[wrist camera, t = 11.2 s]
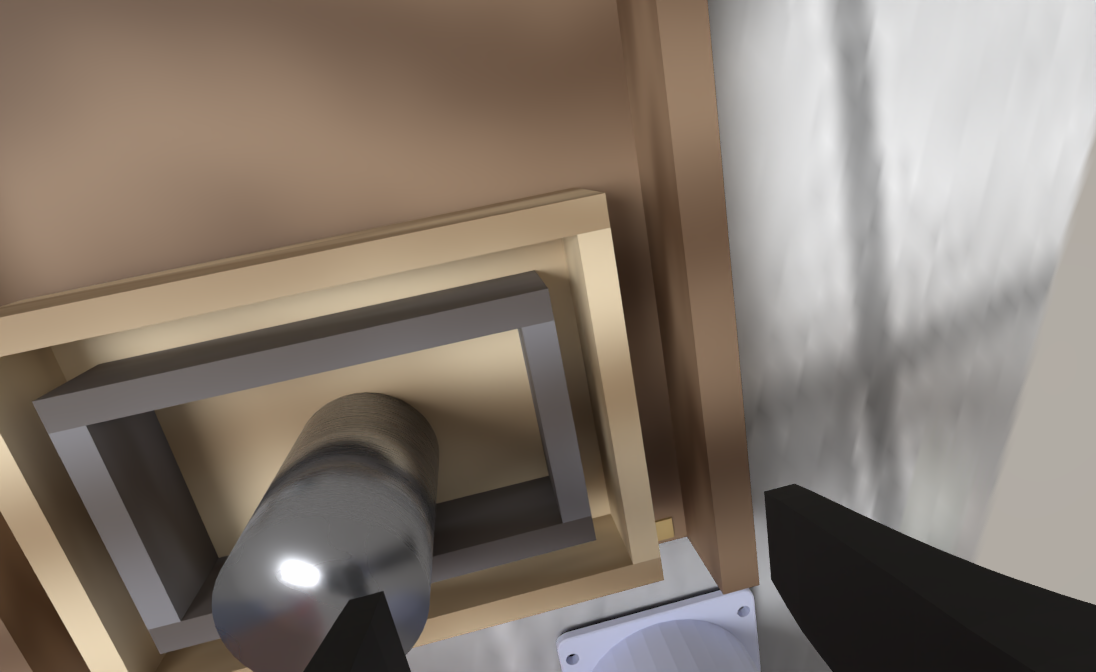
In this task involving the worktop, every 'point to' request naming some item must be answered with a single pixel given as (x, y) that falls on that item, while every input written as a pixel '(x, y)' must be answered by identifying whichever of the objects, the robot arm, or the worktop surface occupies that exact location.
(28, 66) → the bay
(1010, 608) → the robot arm
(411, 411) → the peg
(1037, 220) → the worktop surface
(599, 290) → the crate
